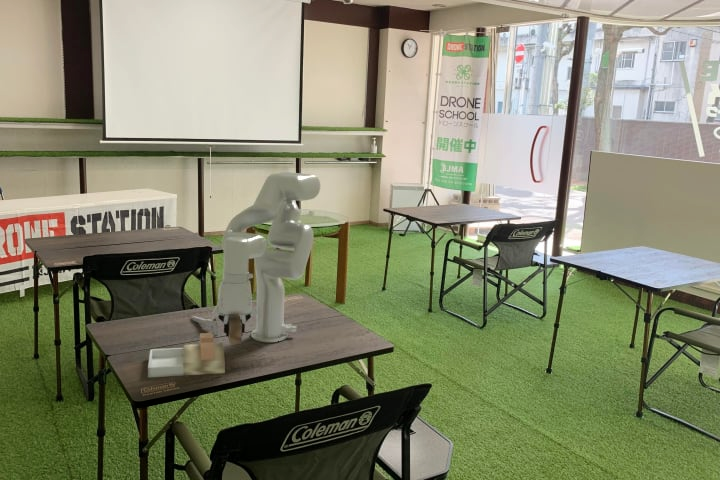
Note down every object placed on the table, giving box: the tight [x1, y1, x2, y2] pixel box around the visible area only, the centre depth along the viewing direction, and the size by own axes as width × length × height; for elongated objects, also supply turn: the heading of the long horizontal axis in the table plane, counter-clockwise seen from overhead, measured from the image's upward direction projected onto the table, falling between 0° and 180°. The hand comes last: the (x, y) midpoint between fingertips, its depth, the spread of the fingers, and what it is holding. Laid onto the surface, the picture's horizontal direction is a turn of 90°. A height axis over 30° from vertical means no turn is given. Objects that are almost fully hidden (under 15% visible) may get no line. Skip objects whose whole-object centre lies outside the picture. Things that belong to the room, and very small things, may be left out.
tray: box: [147, 347, 185, 378], centre depth 191 cm, size 10×14×3 cm
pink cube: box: [199, 332, 214, 350], centre depth 197 cm, size 4×4×4 cm
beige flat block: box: [183, 342, 226, 376], centre depth 194 cm, size 12×14×4 cm
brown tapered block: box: [227, 314, 243, 345], centre depth 194 cm, size 4×12×6 cm, turn 15°
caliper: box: [190, 315, 219, 337], centre depth 225 cm, size 20×1×6 cm, turn 39°
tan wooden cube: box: [201, 341, 215, 361], centre depth 190 cm, size 4×4×4 cm
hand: (234, 334), depth 194 cm, fingers closed on brown tapered block, 3 cm apart
